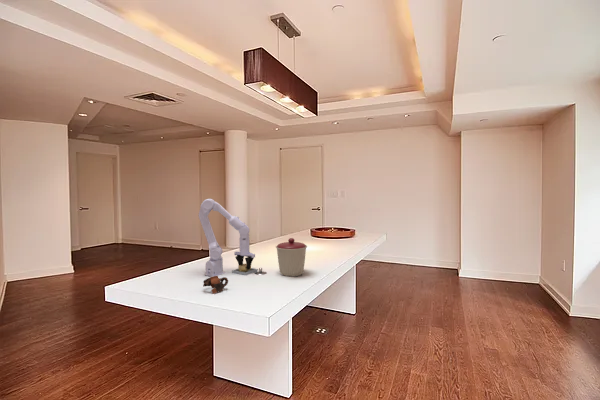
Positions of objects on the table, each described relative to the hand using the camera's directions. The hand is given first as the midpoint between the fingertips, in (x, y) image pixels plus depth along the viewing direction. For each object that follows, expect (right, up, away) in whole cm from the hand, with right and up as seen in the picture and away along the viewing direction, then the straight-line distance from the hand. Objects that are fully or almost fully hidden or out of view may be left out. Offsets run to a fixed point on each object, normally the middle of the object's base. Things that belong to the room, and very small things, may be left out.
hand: (244, 268), depth 191 cm
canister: (+28, -3, -4) cm, 28 cm away
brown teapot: (-9, -4, -32) cm, 33 cm away
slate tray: (0, -3, 0) cm, 3 cm away
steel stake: (+10, -3, -2) cm, 10 cm away
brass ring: (0, -1, 0) cm, 1 cm away
